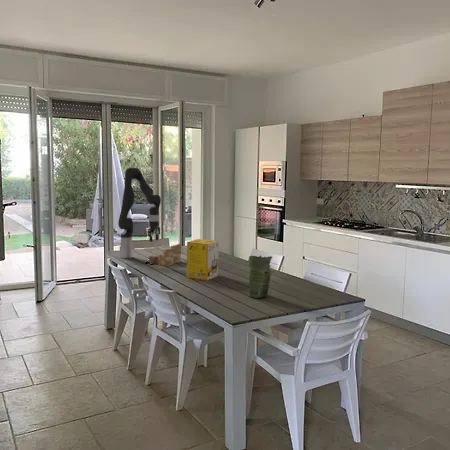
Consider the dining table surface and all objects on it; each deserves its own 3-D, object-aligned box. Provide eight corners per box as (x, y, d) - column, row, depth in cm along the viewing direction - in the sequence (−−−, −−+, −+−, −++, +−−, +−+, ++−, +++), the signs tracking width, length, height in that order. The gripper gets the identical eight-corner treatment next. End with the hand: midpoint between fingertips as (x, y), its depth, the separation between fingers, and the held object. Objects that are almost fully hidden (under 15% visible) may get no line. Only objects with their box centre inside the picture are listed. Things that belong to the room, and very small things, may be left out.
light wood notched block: (158, 265, 357) (158, 247, 355) (172, 260, 376) (172, 243, 374) (167, 266, 354) (167, 248, 352) (180, 261, 373) (180, 244, 371)
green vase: (245, 295, 278) (246, 254, 275) (261, 292, 284) (262, 252, 281) (256, 300, 269) (257, 257, 265) (272, 297, 275) (274, 256, 272)
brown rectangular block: (149, 263, 363) (149, 255, 363) (152, 262, 367) (152, 255, 367) (163, 264, 358) (163, 257, 358) (166, 263, 362) (166, 256, 361)
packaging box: (198, 272, 333) (198, 238, 330) (218, 275, 326) (218, 240, 323) (186, 277, 319) (186, 242, 316) (207, 280, 312) (207, 244, 309)
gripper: (154, 219, 368) (154, 239, 370) (144, 221, 355) (144, 241, 357) (163, 219, 365) (162, 240, 367) (153, 221, 352) (153, 242, 354)
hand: (154, 240), depth 362 cm, fingers open, 8 cm apart
